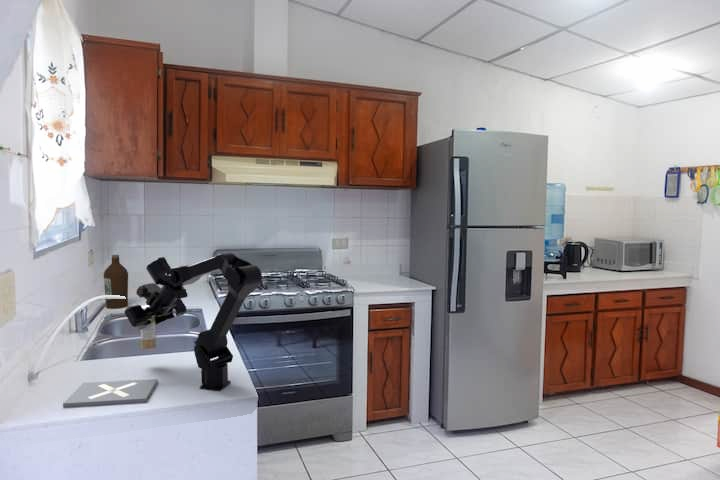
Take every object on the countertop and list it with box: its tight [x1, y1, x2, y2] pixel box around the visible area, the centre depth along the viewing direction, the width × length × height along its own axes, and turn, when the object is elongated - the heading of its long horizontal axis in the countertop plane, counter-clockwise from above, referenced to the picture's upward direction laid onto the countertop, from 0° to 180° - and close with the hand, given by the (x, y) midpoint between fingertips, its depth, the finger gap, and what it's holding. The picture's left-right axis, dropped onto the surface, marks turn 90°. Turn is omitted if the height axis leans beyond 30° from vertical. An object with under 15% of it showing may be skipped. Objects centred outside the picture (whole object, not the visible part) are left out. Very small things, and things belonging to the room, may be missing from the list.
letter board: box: [62, 378, 159, 408], centre depth 134 cm, size 20×14×1 cm
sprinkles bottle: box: [140, 304, 157, 350], centre depth 154 cm, size 5×5×13 cm
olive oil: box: [103, 254, 129, 310], centre depth 236 cm, size 11×11×25 cm
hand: (145, 326), depth 155 cm, fingers closed on sprinkles bottle, 4 cm apart
